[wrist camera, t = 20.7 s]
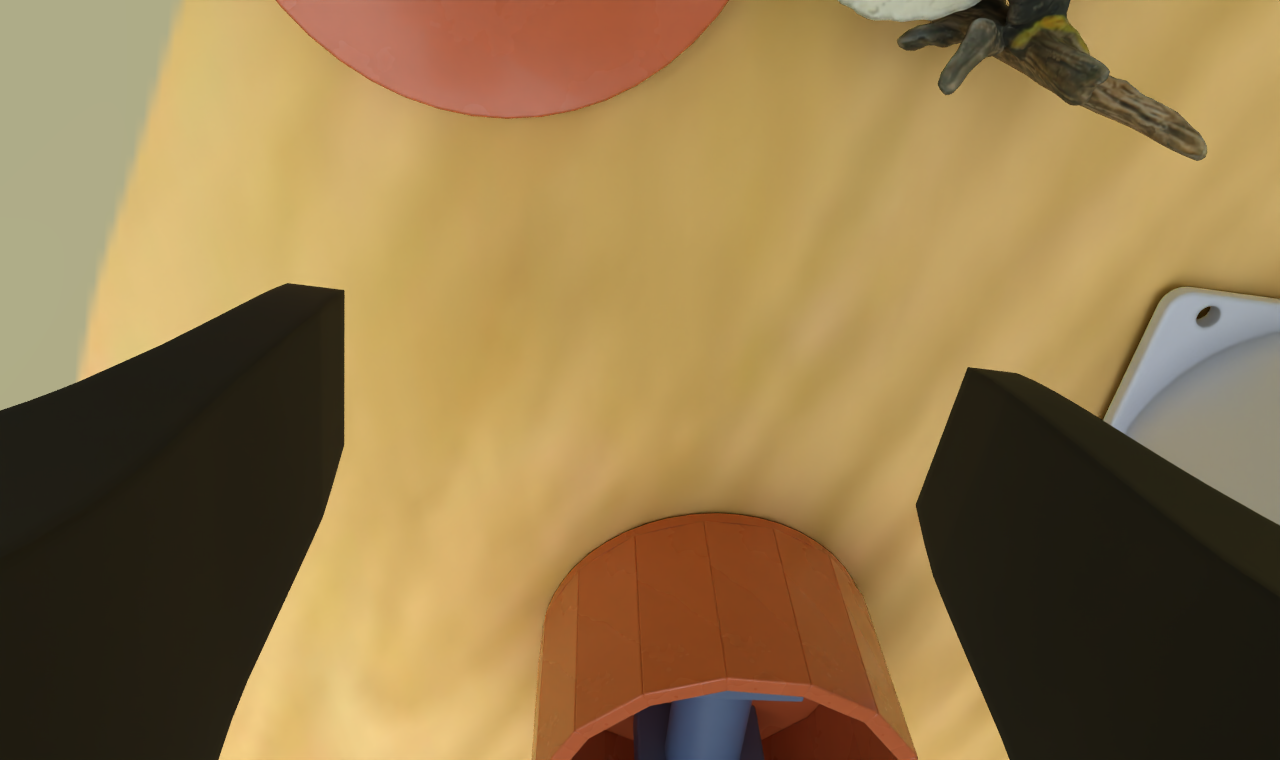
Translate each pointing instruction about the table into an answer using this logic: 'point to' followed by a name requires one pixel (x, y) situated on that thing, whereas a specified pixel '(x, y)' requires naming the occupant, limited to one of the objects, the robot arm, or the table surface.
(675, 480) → the table surface
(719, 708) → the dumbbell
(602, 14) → the lid
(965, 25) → the eagle figurine
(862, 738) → the pot
